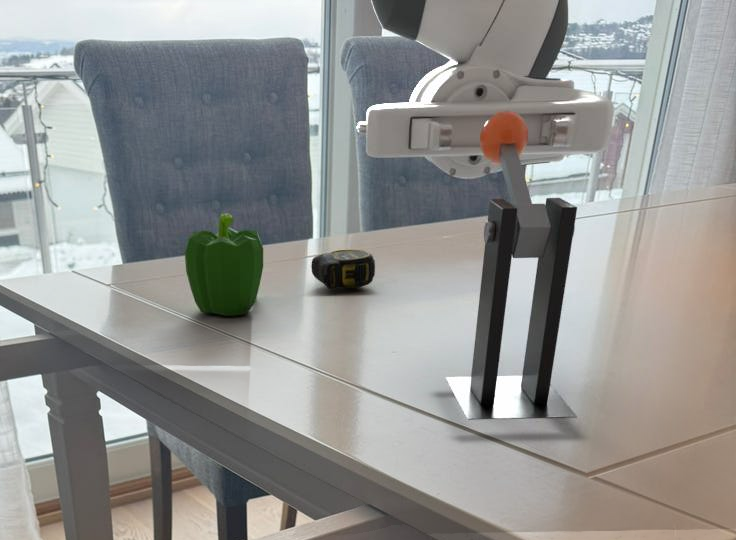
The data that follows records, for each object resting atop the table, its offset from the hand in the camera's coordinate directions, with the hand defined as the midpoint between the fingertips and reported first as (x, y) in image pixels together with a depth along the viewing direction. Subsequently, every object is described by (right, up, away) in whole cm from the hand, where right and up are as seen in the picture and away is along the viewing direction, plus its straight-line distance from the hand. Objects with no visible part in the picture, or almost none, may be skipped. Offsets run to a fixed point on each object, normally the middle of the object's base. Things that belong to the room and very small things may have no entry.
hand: (503, 135), depth 72 cm
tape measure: (-9, +2, +37) cm, 38 cm away
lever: (0, -6, -2) cm, 7 cm away
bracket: (0, -21, 0) cm, 21 cm away
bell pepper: (-22, -4, +28) cm, 36 cm away
